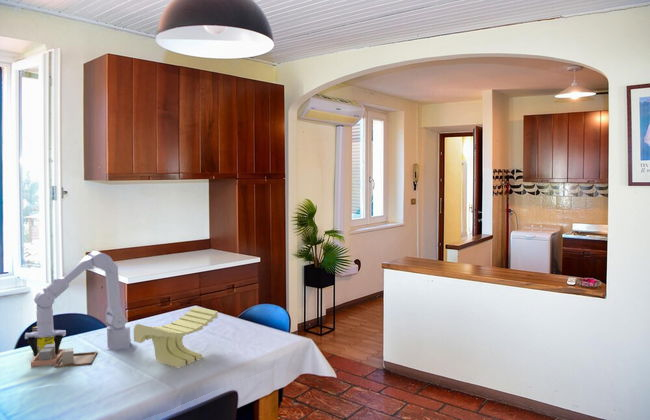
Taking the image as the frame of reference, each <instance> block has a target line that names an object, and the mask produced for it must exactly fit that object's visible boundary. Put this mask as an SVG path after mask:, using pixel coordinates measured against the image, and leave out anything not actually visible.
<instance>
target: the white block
mask: <svg viewBox="0 0 650 420" xmlns="http://www.w3.org/2000/svg"><path fill="white" fill-rule="evenodd" d="M61 349H62V364H63V365H65V364H71V363H74V355H73V353H74V347H70V348H61Z"/></svg>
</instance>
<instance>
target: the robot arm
mask: <svg viewBox="0 0 650 420" xmlns="http://www.w3.org/2000/svg"><path fill="white" fill-rule="evenodd" d="M118 267H119V266H118V265H117V263H116V262H115V261H114V260H113V259H112V257H111V256H110V255H108V254H106V253H104V252H101V251H98V250H93V251H90V252H89V253H88V254H86V255H85V256H84V257H82V259H81V260H80V261H79V262H78V263H77V264H75V266H73V267H72V268H71V269H70V270H69V271H68V272H66V274H65V275H63V277H57V278H54V279H52V282H51V283H50V284H49V285H48V286H46V287H44V288H43V289H42V291H39V292H37V293H36V295H35V297H34V298H33V301H34V303H35V304H36V326H37V332H33V331H32V332H25V334H24V340H27V341H26V342H27V344H28V345H29V347H30V349H31V350H32V353H33V356H34V357H36V356H37V354H38V353H39V352H38V349H37V340H38V338H39V337H52V336H54V344H55V354H58V352H59V349H60V346H61V343H62V341H63V339H64V337H65V336H66V334H67V331H66V329H65V330H64V329H63V330H62V329H55V328H54V329H53V325H54V311H53V305H54V303H55V300H57V298H59V297H60V296H61V295H62V294H64V293H65V292H66V290H68V289H69V288H70V286H69V285H70V283H71V282H72V281H73V280H74V279H76V278H77V277H79V275H81V274H82V273H84V272H85V271H86V270H94V269H95V268H98V269H101V270H102V271H103V272H105V274H104V275H105V285H106V297H107V308H106V314H105V317H104V320H105V323H106V324H107V327H106V337H107V339H106V340H107V341H106V343H107V346H106V347H105V351H110V350H114V351H115V350H124V349H125V350H126V349H129V348H130V345H131V341H132V339H131V327H130V326H126V324H127V318H126V316H125V313H124V310H123V308H122V305H121V295H120V294H121V293H120V281H119V268H118Z"/></svg>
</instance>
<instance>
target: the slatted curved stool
mask: <svg viewBox="0 0 650 420" xmlns="http://www.w3.org/2000/svg"><path fill="white" fill-rule="evenodd" d="M218 318H219V317H218V311H217V310H213V309H208V308H204V307H201V306H200V307H199V306H196V307H193V308H191V309H190V310H189V311H187V312H185V313H184V315H183V316H180V317H179V319H176V320H174V321H172V322H171V323H167V324H164V325H161V326H158V325H157V326H148V325H144V324H141V323H137V324H135V325H134V327H133V342H136V343H139V344H142V343H144V342H145V341H146V340H147V341H148V340H152V345H153V346H154V356H155V360H156V362H158V363H162V364H165V365H168V366H170V365H171V366H170V367H173V366H175V367H174V368H176V367H178V368H177V369H179V367H180V368H182V367H184V365H185V366H186V365H189V364H192V363H194V362H195V361H196V360H197V361H199V360H202V359H203V358H204V357H203V355H202V353H199V352H195V351H194V350H190V349H189V348H187V347H185V345H184V344H183V339H184V336H186V335H188V336H189V335H190V334H192V333H195V332H199V331H201V330H203V329H204V327H207V326H209V323H213V321H214V320H213V319H218ZM201 358H202V359H201ZM198 359H199V360H198ZM191 362H192V363H191ZM181 366H182V367H181Z"/></svg>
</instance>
